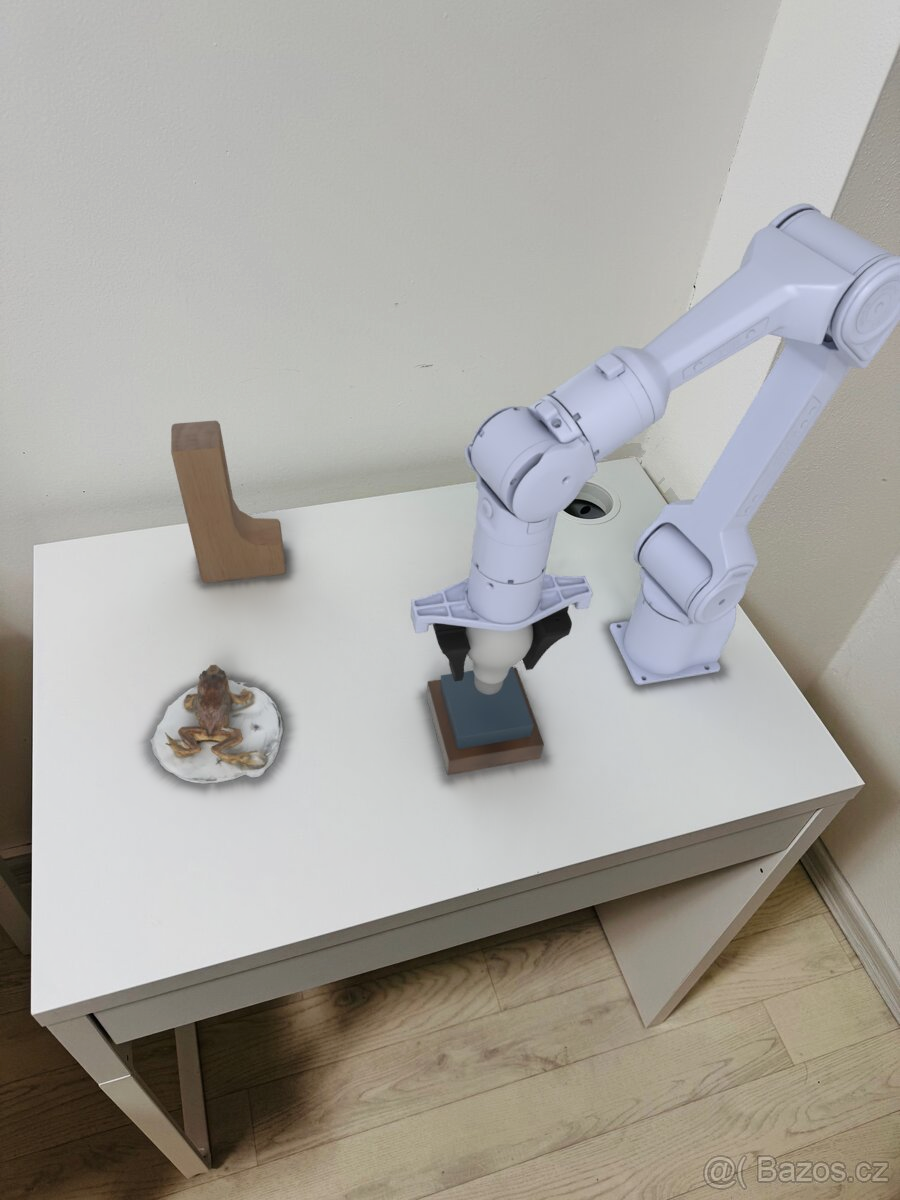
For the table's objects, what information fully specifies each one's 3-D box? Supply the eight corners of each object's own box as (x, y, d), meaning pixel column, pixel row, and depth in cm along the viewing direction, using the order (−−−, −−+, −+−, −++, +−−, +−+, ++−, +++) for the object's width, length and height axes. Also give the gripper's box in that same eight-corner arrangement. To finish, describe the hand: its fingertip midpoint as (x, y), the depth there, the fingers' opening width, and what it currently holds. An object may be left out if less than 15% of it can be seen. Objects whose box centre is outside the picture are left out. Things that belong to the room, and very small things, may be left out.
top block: (509, 676, 81) (512, 664, 80) (530, 737, 77) (533, 724, 75) (439, 687, 80) (440, 675, 78) (457, 750, 75) (458, 738, 74)
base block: (513, 681, 84) (516, 666, 82) (540, 758, 78) (544, 744, 76) (426, 696, 82) (427, 681, 80) (447, 775, 76) (448, 761, 75)
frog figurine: (152, 688, 81) (144, 664, 78) (278, 673, 83) (274, 649, 80) (147, 793, 73) (138, 771, 71) (286, 774, 76) (282, 752, 73)
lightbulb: (515, 722, 73) (532, 644, 65) (447, 709, 74) (455, 629, 66) (525, 668, 77) (542, 588, 69) (460, 655, 78) (470, 575, 70)
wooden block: (283, 546, 95) (266, 414, 81) (286, 575, 92) (270, 443, 78) (201, 555, 93) (170, 422, 80) (202, 584, 90) (170, 451, 77)
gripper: (582, 510, 67) (555, 620, 77) (404, 532, 64) (401, 643, 74) (613, 573, 62) (581, 681, 73) (424, 599, 60) (417, 708, 70)
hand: (491, 666), depth 73 cm, fingers closed on lightbulb, 6 cm apart
